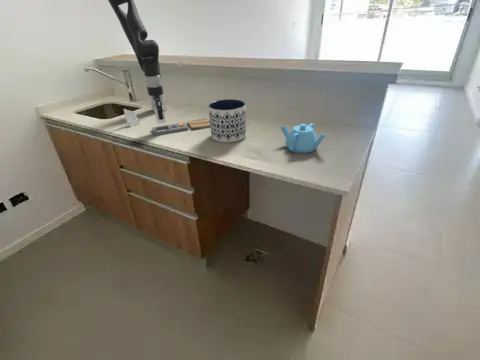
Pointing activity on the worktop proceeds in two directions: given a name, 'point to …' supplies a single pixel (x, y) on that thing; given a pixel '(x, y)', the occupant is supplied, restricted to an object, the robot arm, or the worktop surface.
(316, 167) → the worktop surface
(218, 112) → the planter
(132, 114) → the crumpled white paper
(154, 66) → the robot arm
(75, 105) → the worktop surface
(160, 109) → the block
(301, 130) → the teapot
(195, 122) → the walnut board
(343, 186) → the worktop surface
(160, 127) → the grey panel with cutout
